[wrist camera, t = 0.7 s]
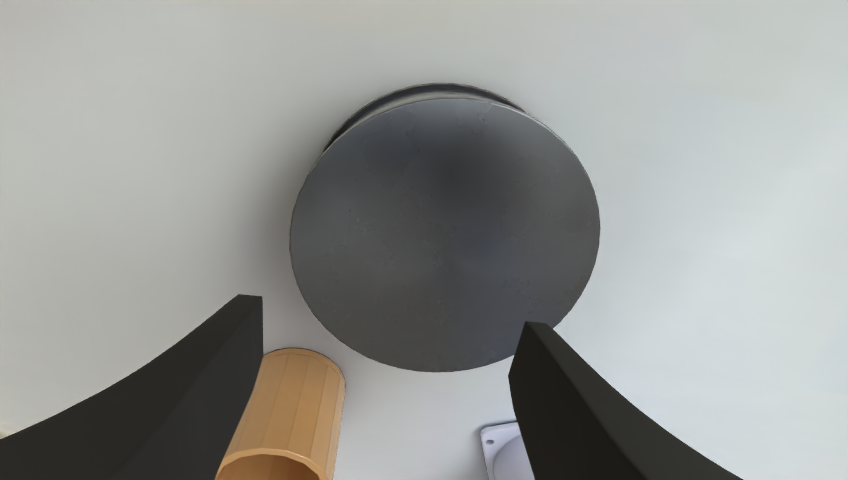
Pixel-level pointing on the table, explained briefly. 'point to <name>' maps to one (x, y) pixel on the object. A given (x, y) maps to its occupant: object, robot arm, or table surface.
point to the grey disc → (443, 229)
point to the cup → (289, 420)
